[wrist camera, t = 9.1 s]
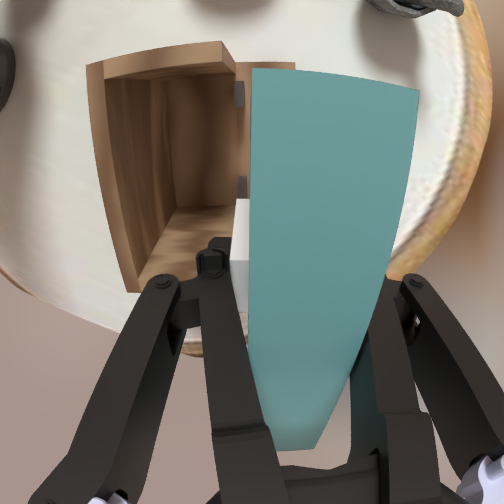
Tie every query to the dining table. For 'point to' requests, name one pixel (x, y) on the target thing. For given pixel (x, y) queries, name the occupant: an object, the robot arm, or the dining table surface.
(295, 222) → the door
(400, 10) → the mortar and pestle
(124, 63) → the cabinet
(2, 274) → the dining table surface
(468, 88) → the dining table surface
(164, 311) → the robot arm
